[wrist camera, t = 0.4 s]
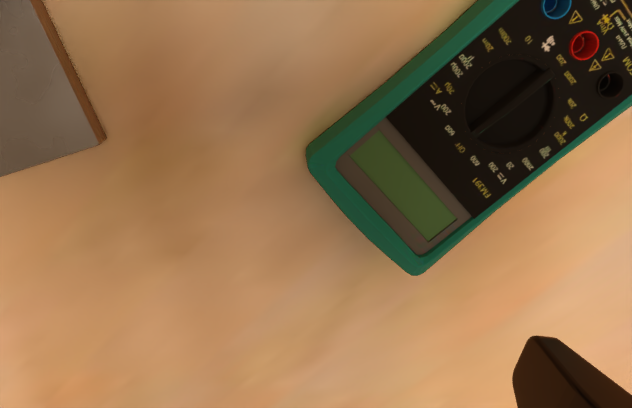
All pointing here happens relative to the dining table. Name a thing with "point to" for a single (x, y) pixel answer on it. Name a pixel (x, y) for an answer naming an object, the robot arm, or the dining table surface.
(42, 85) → the base
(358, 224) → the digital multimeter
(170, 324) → the dining table surface
